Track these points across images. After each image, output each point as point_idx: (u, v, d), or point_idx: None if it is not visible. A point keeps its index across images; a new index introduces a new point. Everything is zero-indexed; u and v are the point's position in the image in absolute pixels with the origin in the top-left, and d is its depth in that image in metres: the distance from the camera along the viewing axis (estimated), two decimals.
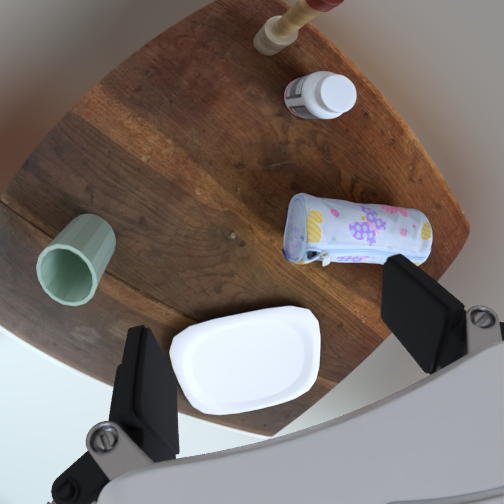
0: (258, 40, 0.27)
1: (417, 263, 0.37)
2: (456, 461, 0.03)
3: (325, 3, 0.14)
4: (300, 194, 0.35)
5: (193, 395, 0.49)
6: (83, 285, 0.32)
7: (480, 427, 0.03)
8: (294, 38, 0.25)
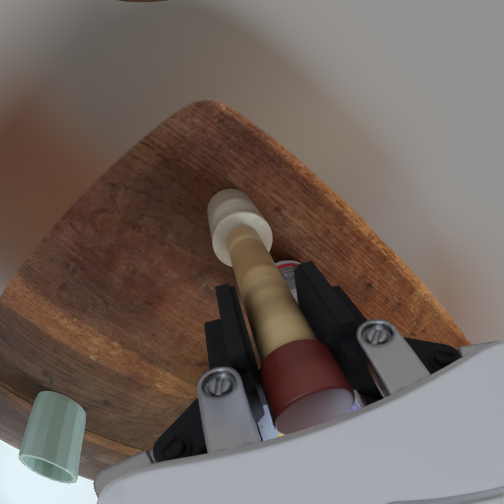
0: None
1: None
2: (456, 461, 0.03)
3: None
4: None
5: None
6: None
7: (480, 427, 0.03)
8: None
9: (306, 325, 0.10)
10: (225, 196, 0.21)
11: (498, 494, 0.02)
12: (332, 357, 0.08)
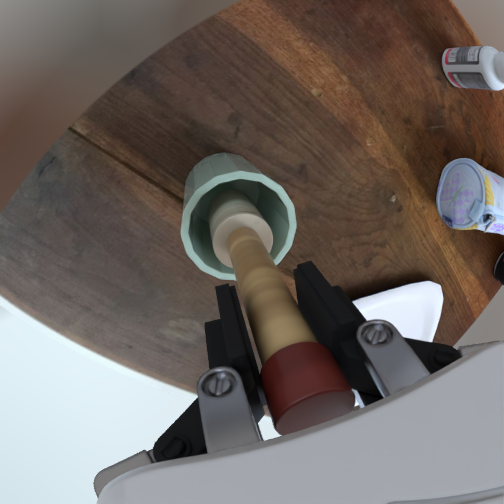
0: None
1: None
2: (456, 461, 0.03)
3: None
4: (463, 159, 0.27)
5: None
6: None
7: (480, 427, 0.03)
8: None
9: (307, 327, 0.10)
10: (226, 197, 0.21)
11: (498, 494, 0.02)
12: (333, 360, 0.08)
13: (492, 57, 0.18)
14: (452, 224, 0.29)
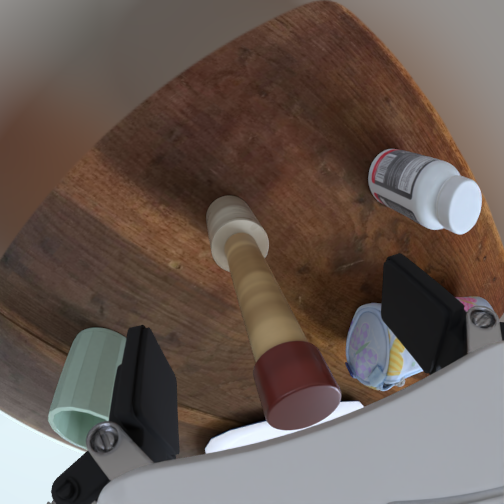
0: None
1: None
2: (456, 461, 0.03)
3: None
4: (378, 308, 0.27)
5: None
6: None
7: (480, 427, 0.03)
8: None
9: (297, 328, 0.10)
10: (224, 203, 0.21)
11: (498, 494, 0.02)
12: (320, 357, 0.09)
13: (435, 188, 0.18)
14: (353, 376, 0.29)
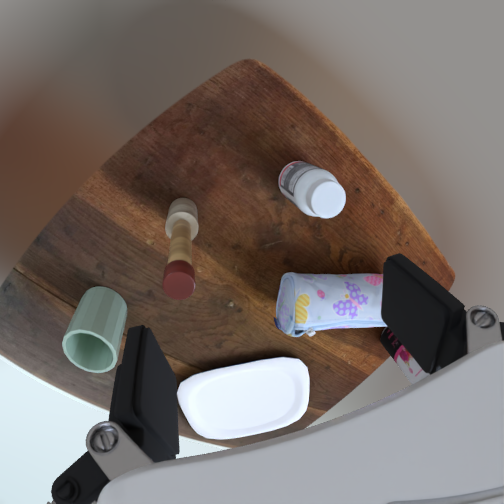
0: None
1: None
2: (456, 461, 0.03)
3: None
4: (291, 275, 0.40)
5: (197, 425, 0.54)
6: (102, 352, 0.36)
7: (480, 427, 0.03)
8: (195, 234, 0.33)
9: (186, 257, 0.24)
10: (177, 203, 0.35)
11: (498, 494, 0.02)
12: (188, 266, 0.22)
13: (307, 188, 0.31)
14: (279, 327, 0.42)
